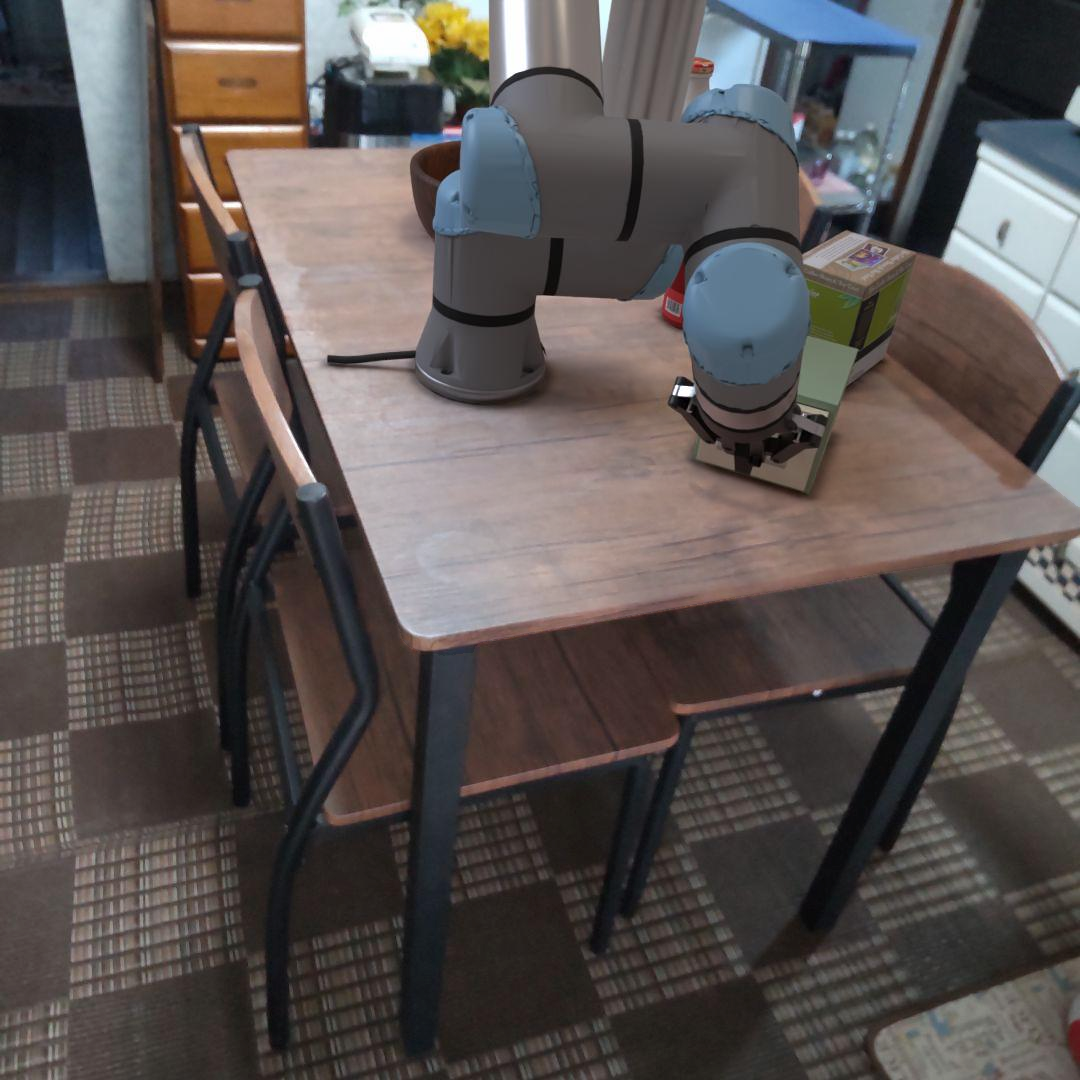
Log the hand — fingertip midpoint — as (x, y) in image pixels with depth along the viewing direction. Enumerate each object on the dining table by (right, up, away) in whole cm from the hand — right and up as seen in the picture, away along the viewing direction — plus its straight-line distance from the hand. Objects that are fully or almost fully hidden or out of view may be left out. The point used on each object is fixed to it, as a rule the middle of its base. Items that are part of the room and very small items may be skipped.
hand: (746, 460), depth 96 cm
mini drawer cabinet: (+5, +3, +15) cm, 16 cm away
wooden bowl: (-27, +39, +56) cm, 73 cm away
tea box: (+17, +15, +32) cm, 39 cm away
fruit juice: (-2, +34, +54) cm, 63 cm away
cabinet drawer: (+4, +1, +11) cm, 12 cm away
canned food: (0, +22, +39) cm, 45 cm away
